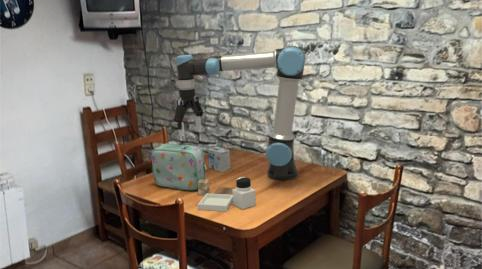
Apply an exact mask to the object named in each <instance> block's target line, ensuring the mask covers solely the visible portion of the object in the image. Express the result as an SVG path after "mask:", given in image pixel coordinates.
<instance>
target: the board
mask: <svg viewBox="0 0 482 269" xmlns="http://www.w3.org/2000/svg"><path fill="white" fill-rule="evenodd" d="M235 188H236V187H226V186H225V187H223V186H218V187H217V189H216V190H214V193H213V194H229V195H233V192H232V190H233V189H235Z"/></svg>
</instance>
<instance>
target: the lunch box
mask: <svg viewBox="0 0 482 269" xmlns="http://www.w3.org/2000/svg"><path fill="white" fill-rule="evenodd" d="M206 165H207V164H206V163H205V155H204V151H203V149H202V148H201V147H199V146H196V145H194V144H193V145H190V144H175V143H170V142H168V143H163V144H161V145H159V146H158V147H156V148H154V149H152V151H151V166H152V177H153V181H154V183H155V184H156V185H157V186H158V187H164V188H169V189H173V190H174V189H175V190H184V191H196V190H197V191H198V182H199V181H200V180H206V177H207V176H206V171H207V166H206Z"/></svg>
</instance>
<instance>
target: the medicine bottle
mask: <svg viewBox="0 0 482 269" xmlns="http://www.w3.org/2000/svg"><path fill="white" fill-rule="evenodd" d="M235 180H236V181H235V184H236V186H235V187H234V188H235V189H233V190H232V192H233V203H232V205H233V206H235V207H237V208H239V209H241V210H246V209H249V208H252V207H254V206H255V207H256V205H257V203H256V199H257V198H256V189H255V188H252V186H251V185H252V183H251V179H250V178H249V177H247V176H239V178H237V179H235Z"/></svg>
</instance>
